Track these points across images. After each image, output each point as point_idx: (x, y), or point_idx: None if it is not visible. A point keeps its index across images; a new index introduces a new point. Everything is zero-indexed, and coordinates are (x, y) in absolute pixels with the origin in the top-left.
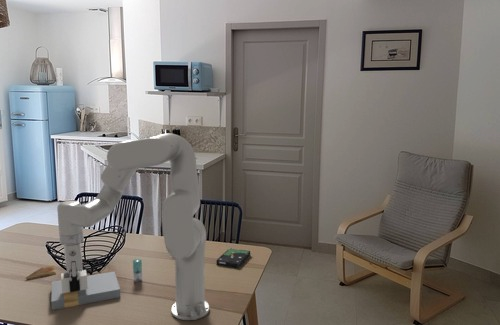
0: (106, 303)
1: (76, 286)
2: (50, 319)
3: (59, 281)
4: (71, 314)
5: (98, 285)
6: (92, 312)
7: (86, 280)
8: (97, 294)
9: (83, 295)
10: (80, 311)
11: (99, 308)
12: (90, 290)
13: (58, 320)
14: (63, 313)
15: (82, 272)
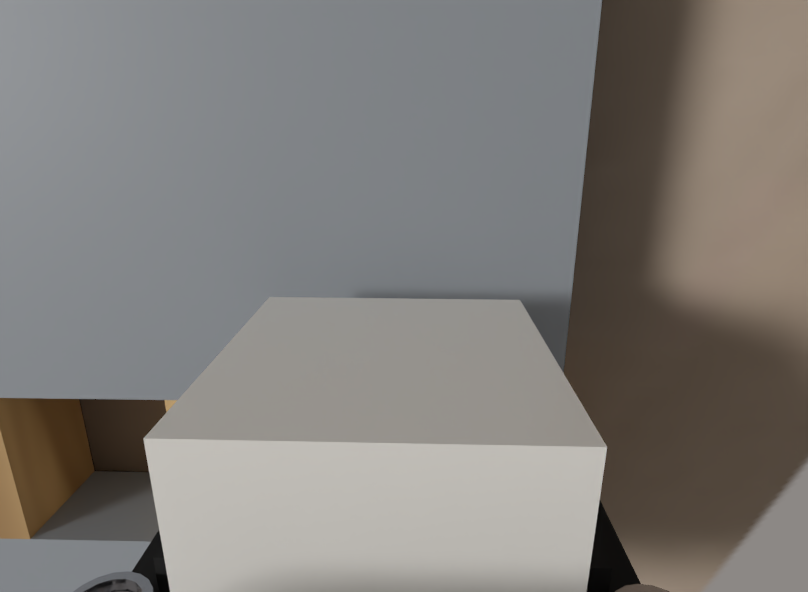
0: (669, 29)
1: (607, 527)
2: (690, 582)
3: (11, 574)
4: (706, 426)
5: (300, 96)
6: (800, 224)
7: (564, 384)
8: (581, 140)
9: (555, 339)
10: (694, 344)
11: (752, 135)
12: (434, 236)
13: (752, 528)
14: (640, 488)
15: (329, 536)
